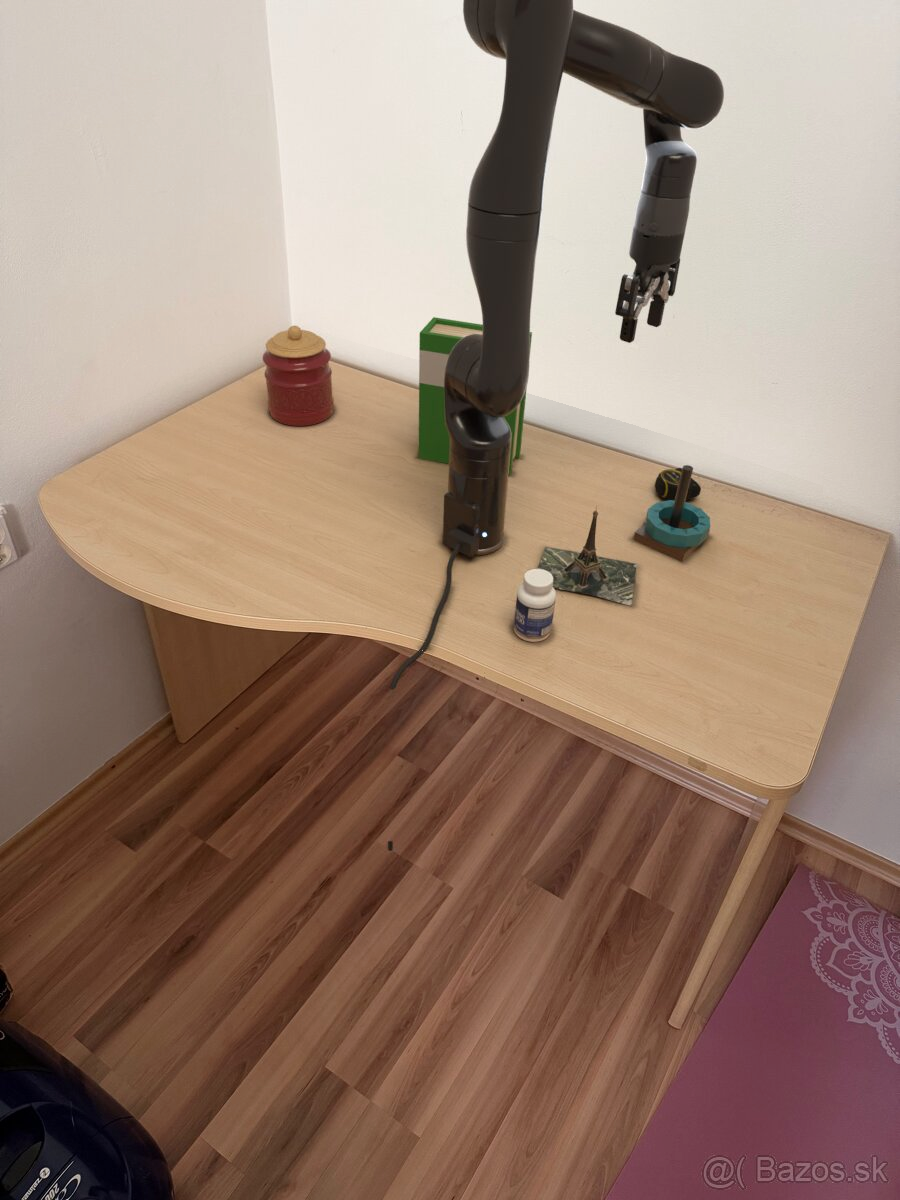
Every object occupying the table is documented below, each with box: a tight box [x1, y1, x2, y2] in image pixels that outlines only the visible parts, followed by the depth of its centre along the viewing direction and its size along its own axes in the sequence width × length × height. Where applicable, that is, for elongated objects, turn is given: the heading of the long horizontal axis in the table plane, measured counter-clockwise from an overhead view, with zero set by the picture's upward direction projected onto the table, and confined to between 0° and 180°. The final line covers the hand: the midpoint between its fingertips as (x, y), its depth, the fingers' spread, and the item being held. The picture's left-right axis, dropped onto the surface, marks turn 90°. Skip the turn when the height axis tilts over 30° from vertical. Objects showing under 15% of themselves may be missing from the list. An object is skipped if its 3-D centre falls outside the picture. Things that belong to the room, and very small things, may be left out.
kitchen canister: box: [262, 325, 335, 427], centre depth 163 cm, size 13×13×18 cm
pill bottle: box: [513, 568, 557, 643], centre depth 117 cm, size 5×5×10 cm
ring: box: [644, 500, 711, 548], centre depth 137 cm, size 10×10×2 cm
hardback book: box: [417, 316, 533, 477], centre depth 149 cm, size 18×7×24 cm, turn 72°
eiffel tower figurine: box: [537, 506, 638, 607], centre depth 126 cm, size 15×10×13 cm
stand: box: [632, 464, 710, 562], centre depth 134 cm, size 9×9×14 cm
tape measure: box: [654, 467, 702, 502], centre depth 147 cm, size 7×7×4 cm
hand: (640, 333), depth 133 cm, fingers open, 8 cm apart
